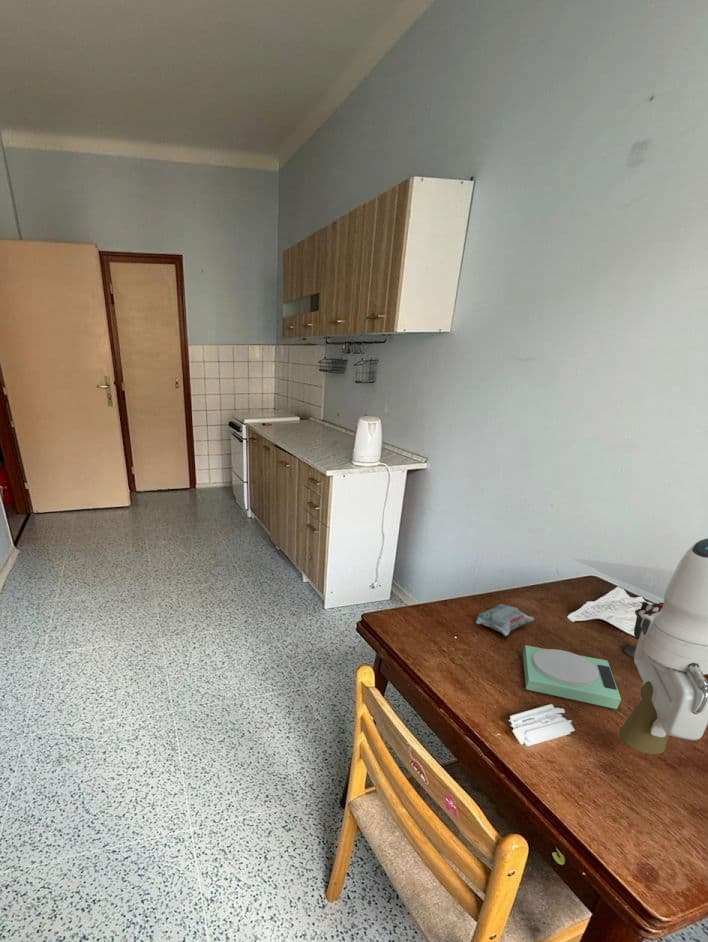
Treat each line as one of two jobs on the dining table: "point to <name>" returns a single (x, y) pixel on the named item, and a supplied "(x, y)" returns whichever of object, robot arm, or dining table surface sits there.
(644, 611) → the sundae
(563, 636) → the dining table surface
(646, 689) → the dark olive tapered piece
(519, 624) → the packaged food
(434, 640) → the dining table surface
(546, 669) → the scale
